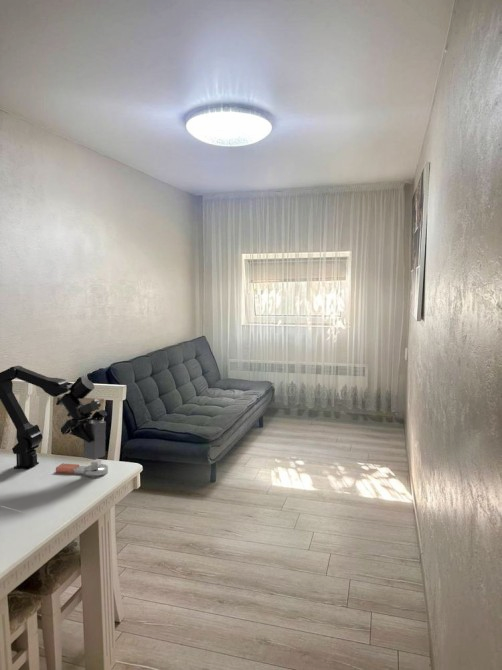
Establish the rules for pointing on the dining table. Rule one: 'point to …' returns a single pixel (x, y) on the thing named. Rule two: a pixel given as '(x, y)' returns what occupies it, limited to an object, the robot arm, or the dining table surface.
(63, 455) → the dining table surface
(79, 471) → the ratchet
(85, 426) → the tall grey pillar
